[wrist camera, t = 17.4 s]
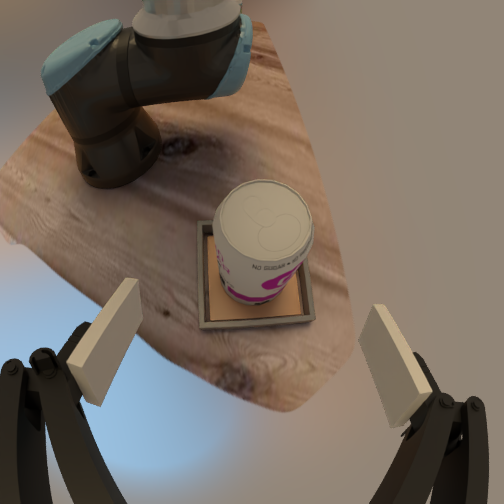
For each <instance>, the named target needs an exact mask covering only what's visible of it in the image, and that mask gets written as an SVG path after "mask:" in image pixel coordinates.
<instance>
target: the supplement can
mask: <svg viewBox="0 0 504 504" xmlns="http://www.w3.org/2000/svg"><path fill="white" fill-rule="evenodd" d="M212 226H213V234H214V241H215V248H216V255H217V261H218V268H219V275H220V281H221V285H222V286H223V288H224V290H225V292H226V293H227V294H228V295H229V296H230V297H231V298H233V299H234V300H235V301H236V302H239V303H242V304H245V305H262V304H265V303H268V302H270V301H272V300H273V299H274V298H275V297H276V296H278V295H279V294H280V292H281V291H282V290H283V288H284V287H285V286H286V284H287V283H288V282H289V280H290V279H291V278H292V276H293V275H294V273H295V272H296V271H297V269H298V268H299V267H300V265H301V264H302V262H303V261H304V260H305V258H306V256H307V254H308V252H309V250H310V248H311V246H312V245H313V239H314V225H313V221H312V217H311V214H310V211H309V208H308V205H307V203H306V202H305V201H304V199H303V198H302V197H301V195H300V194H299V193H298V192H296V191H295V190H294V189H292V188H291V187H289V186H288V185H286V184H283V183H280V182H278V181H275V180H265V179H256V180H253V181H249V182H245V183H242V184H241V185H239V186H238V187H236V188H235V189H233V190H232V191H231V192H230V193H229V195H228V196H226V197H225V198H224V200H223V201H222V202H221V204H220V205H219V206H218V208H217V209H216V212H215V216H214V220H213V224H212Z"/></svg>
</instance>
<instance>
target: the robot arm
mask: <svg viewBox="0 0 504 504" xmlns="http://www.w3.org/2000/svg"><path fill="white" fill-rule="evenodd" d="M142 3H143V8H142V9H141V10H140V11H139V12H138V13H137V15H136V16H135V17H134V19H133V22H132V25H133V27H129V28H124V29H123V24H122V23H121V22H120V21H119V20H118V19H112V20H106V21H103V22H100V23H97V24H95V25H93V26H91V27H88V28H87V29H85V30H83V31H81V32H79V33H78V34H76V35H74V36H73V37H71V38H70V39H68V40H67V41H66V42H64V43H63V44H62V45H60V46H59V47H58V48H57V49H56V50H55V51H53V53H51V55H50V56H49V57H48V58H47V59H46V61H45V62H44V64H43V66H42V69H41V77H42V80H43V83H44V86H45V88H46V93H47V95H48V96H49V97H50V99H51V101H52V103H53V104H54V107H55V109H56V110H57V112H58V114H59V116H60V118H61V120H62V121H63V123H64V125H65V127H66V129H67V130H68V132H69V134H70V135H71V137H72V139H73V141H74V147H75V154H76V160H77V166H78V169H79V171H80V173H81V174H82V176H83V177H84V179H85V180H86V181H87V182H88V183H89V184H90V185H92V186H94V187H97V188H104V189H107V188H115V187H119V186H122V185H125V184H127V183H129V182H131V181H133V180H135V179H137V178H138V177H140V176H141V175H142V174H144V173H145V172H146V171H147V170H148V169H149V168H150V167H151V166H152V165H153V163H154V162H155V161H156V159H157V157H158V155H159V153H160V150H161V145H162V141H161V136H160V132H159V129H158V127H157V125H156V123H155V122H154V121H153V119H152V118H151V117H150V116H149V115H148V113H147V112H146V111H145V110H144V109H143V107H142V106H148V105H154V104H162V103H170V102H178V101H189V100H201V99H204V100H206V99H211V98H215V97H223V96H230V95H233V94H235V93H236V92H237V91H238V90H239V89H240V88H241V87H242V85H243V83H244V81H245V78H246V75H247V71H248V67H249V62H250V57H251V52H250V49H251V45H252V38H253V31H252V23H251V19H250V18H249V17H248V16H247V15H243V14H240V6H239V4H238V3H237V2H236V1H235V0H142ZM142 320H143V314H142V306H141V298H140V289H139V280H138V279H133V278H127V277H126V278H125V279H124V281H123V282H122V283H121V285H120V286H119V287H118V289H117V290H116V291H115V293H114V294H113V295H112V297H111V298H110V299H109V301H108V302H107V303H106V305H105V306H104V307H103V309H102V310H101V312H100V313H99V314H98V316H97V317H96V319H95V320H94V321H93V323H89V322H84V323H82V324H81V325H79V326H78V327H77V328H76V329H75V330H74V332H73V333H72V336H70V337H69V339H68V341H67V342H66V343H65V344H64V346H63V347H62V349H61V350H60V352H59V353H58V355H57V356H56V354H55V352H54V351H53V350H52V349H50V348H39V349H37V350H36V351H34V352H33V353H32V354H31V356H30V359H29V363H30V364H31V367H32V368H26V367H24V365H23V363H22V361H20V360H19V359H10V360H8V361H6V362H5V363H4V364H3V366H2V369H1V374H0V504H53V502H52V497H51V491H50V484H49V476H48V467H47V455H46V435H45V422H46V426H47V430H48V434H49V438H50V441H51V445H52V448H53V451H54V454H55V457H56V460H57V463H58V466H59V469H60V471H61V474H62V476H63V479H64V482H65V484H66V487H67V489H68V491H69V493H70V496H71V498H72V500H73V502H74V504H127V502H126V501H125V499H124V497H123V496H122V494H121V492H120V491H119V489H118V487H117V485H116V483H115V482H114V480H113V478H112V476H111V474H110V472H109V470H108V468H107V466H106V464H105V462H104V460H103V458H102V456H101V453H100V451H99V449H98V447H97V444H96V442H95V439H94V437H93V435H92V432H91V430H90V427H89V424H88V422H87V419H86V416H85V414H84V411H83V408H82V405H81V403H80V399H81V397H82V395H83V397H84V399H85V400H86V402H88V403H91V404H94V405H96V406H100V407H101V405H102V403H103V400H104V398H105V396H106V394H107V391H108V389H109V387H110V385H111V383H112V380H113V378H114V376H115V374H116V372H117V370H118V368H119V366H120V364H121V362H122V359H123V358H124V356H125V353H126V351H127V349H128V347H129V345H130V343H131V341H132V339H133V337H134V336H135V334H136V332H137V330H138V328H139V326H140V324H141V322H142ZM358 340H359V343H360V346H361V348H362V351H363V353H364V356H365V358H366V361H367V364H368V366H369V368H370V371H371V374H372V377H373V379H374V382H375V385H376V388H377V390H378V393H379V396H380V399H381V402H382V404H383V407H384V410H385V413H386V416H387V419H388V422H389V425H390V428H395V427H400V426H403V425H404V424H405V423H406V422H407V421H408V420H409V419H410V421H411V425H410V426H409V427H408V428H407V429H406V430H405V431H404V432H403V433H402V435H401V437H402V436H403V435H404V434H405V437H404V439H403V441H402V443H401V445H400V448H399V450H398V452H397V454H396V456H395V458H394V460H393V462H392V464H391V466H390V468H389V470H388V472H387V474H386V475H385V477H384V479H383V481H382V483H381V484H380V486H379V488H378V490H377V491H376V493H375V495H374V496H373V498H372V499H371V501H370V503H369V504H425V503H426V501H427V499H428V496H429V494H430V492H431V489H432V487H433V490H432V496H431V501H430V504H487V498H488V482H489V449H488V433H487V422H486V413H485V407H484V403H483V402H482V400H480V399H479V398H478V397H476V396H471V397H469V398H468V399H467V401H466V402H465V403H463V402H455V401H454V399H453V398H452V397H451V396H450V395H448V394H446V393H441V391H440V389H439V387H438V385H437V383H436V382H435V380H434V378H433V376H432V374H431V373H430V370H429V369H428V367H427V365H426V363H425V361H424V360H423V358H422V357H421V356H420V355H419V354H418V353H416V352H412V351H411V349H410V347H409V346H408V344H407V342H406V340H405V339H404V337H403V335H402V333H401V332H400V330H399V328H398V327H397V325H396V323H395V321H394V320H393V318H392V316H391V315H390V314H389V312H388V310H387V309H386V307H385V305H381V304H373V306H372V309H371V311H370V313H369V316H368V318H367V321H366V323H365V325H364V328H363V330H362V333H361V335H360V337H359V339H358ZM461 435H462V437H463V438H462V440H461Z"/></svg>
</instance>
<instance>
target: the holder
mask: <svg viewBox="0 0 504 504" xmlns="http://www.w3.org/2000/svg"><path fill="white" fill-rule="evenodd" d="M212 224H213V220H205V221H197V268H198V307H199V328H200V329H201V330H215V329H235V328H250V327H264V326H276V325H287V324H297V323H306V322H311V321H313V320H315V319H316V318H315V310H314V302H313V295H312V287H311V280H310V273H309V266H308V259H307V256H306V258H305V260H304V261H303V262H302V264H301V265H300V267H299V276H300V283H301V291H302V299H303V307H304V316H294V317H284V318H272V319H259V320H245V321H227V322H206V302H205V271H204V233H213V226H212ZM208 276H209V303H210V321H214V320H234V319H250V318H264V317H277V316H288V315H299V314H301V312H300V303H299V295H298V287H297V279H296V272H295V273H294V275H293V276H292V278H291V279H290V280H289V282H288V283H287V284H286V286H285V287H284V288H283V290H282V291H281V292H280V294H279V295H278V296H276V297H275V298H274V299H273V300H272V301H270V302H268V303H265V304H262V305H245V304H242V303H239V302H236V301H235V300H234V299H233V298H231V297H230V296H229V295H228V294H227V293H226V292H225V290H224V288H223V286H222V285H221V281H220V275H219V268H218V261H217V255H216V248H215V241H214V236H208Z"/></svg>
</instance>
